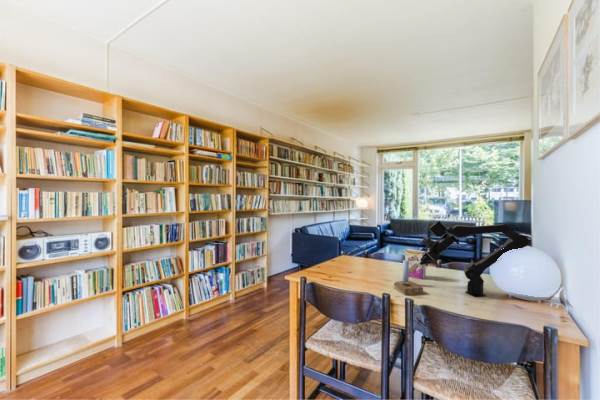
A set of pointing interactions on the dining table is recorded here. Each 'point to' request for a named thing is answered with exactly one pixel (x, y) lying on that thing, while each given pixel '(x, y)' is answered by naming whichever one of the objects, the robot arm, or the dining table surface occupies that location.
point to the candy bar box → (415, 263)
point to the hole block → (408, 288)
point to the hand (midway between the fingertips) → (420, 262)
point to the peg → (405, 271)
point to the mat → (409, 281)
